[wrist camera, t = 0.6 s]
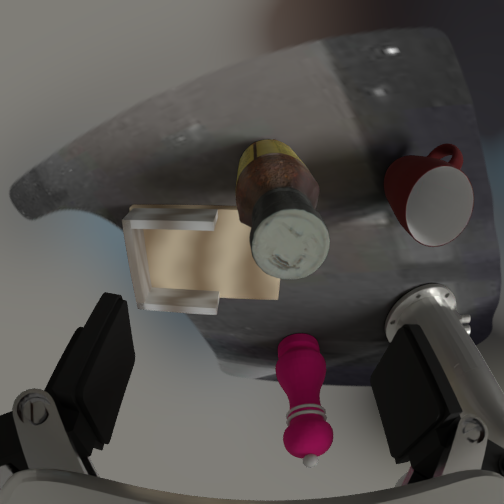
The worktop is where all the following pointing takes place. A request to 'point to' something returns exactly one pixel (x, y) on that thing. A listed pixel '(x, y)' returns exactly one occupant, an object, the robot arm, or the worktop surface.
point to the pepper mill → (303, 397)
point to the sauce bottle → (281, 211)
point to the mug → (430, 195)
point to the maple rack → (192, 258)
